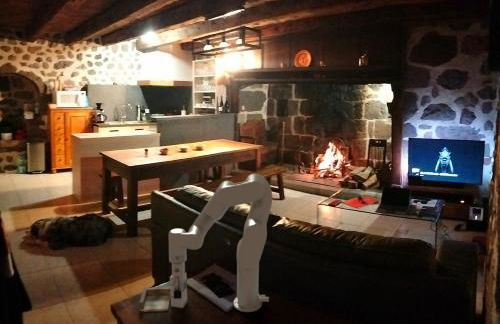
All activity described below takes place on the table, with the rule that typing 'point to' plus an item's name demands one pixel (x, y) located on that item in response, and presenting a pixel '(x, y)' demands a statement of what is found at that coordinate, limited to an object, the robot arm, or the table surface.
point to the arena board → (155, 299)
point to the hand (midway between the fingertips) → (178, 292)
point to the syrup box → (183, 299)
